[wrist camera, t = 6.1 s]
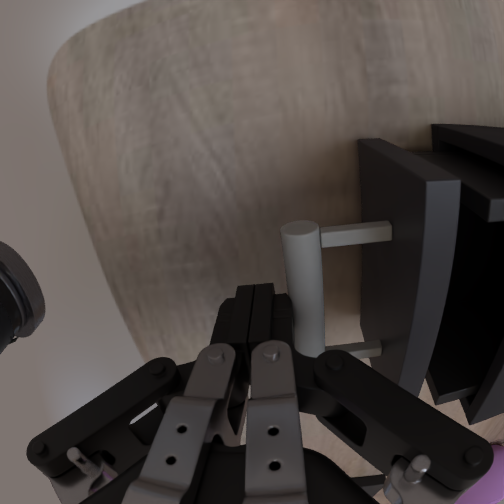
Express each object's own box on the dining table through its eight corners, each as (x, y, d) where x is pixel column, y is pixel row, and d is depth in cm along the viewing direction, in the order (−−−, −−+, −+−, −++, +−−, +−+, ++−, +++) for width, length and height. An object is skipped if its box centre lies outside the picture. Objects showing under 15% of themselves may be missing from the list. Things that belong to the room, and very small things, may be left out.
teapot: (532, 423, 29) (553, 476, 18) (495, 464, 36) (507, 509, 25) (426, 462, 32) (440, 532, 21) (399, 494, 39) (406, 548, 28)
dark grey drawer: (296, 331, 20) (299, 438, 13) (273, 147, 15) (268, 194, 8) (526, 292, 17) (577, 358, 10) (551, 144, 12) (635, 183, 5)
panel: (294, 497, 38) (293, 516, 35) (302, 480, 34) (302, 501, 30) (366, 493, 37) (368, 510, 34) (385, 474, 33) (388, 494, 30)
